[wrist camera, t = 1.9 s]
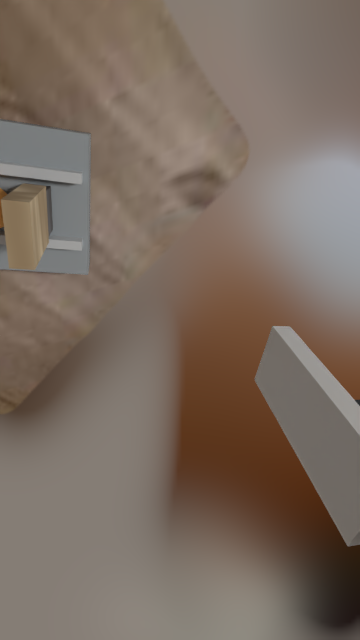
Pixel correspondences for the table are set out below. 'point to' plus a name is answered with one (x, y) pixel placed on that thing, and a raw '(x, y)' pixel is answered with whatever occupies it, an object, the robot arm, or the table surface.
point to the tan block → (27, 224)
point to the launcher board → (66, 188)
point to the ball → (0, 195)
